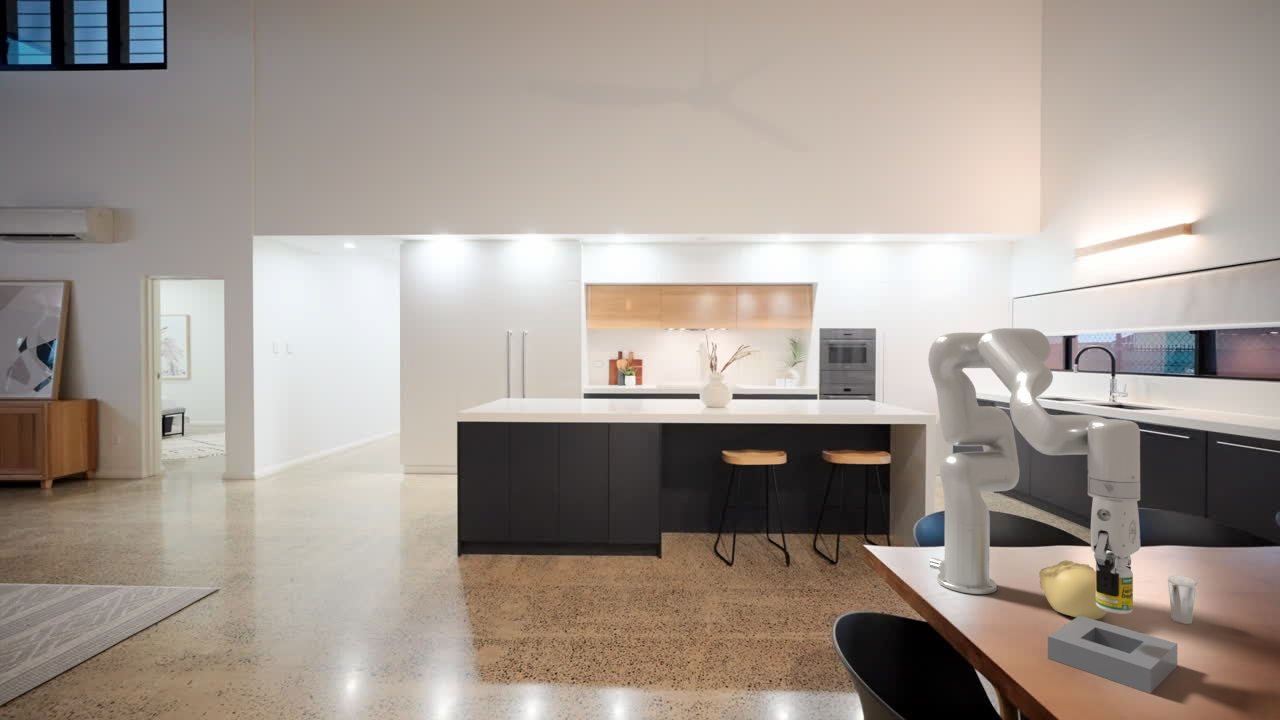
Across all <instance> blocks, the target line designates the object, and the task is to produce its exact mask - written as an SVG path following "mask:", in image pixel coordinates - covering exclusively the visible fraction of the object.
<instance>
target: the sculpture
mask: <svg viewBox="0 0 1280 720" xmlns="http://www.w3.org/2000/svg"><path fill="white" fill-rule="evenodd" d="M1038 574H1039V578H1040V579H1039V584H1040V585H1039V587H1040V588H1041V590H1042V591H1043V593H1044V595H1045V598H1046V599H1047V602H1048V603H1049V605H1050V606H1051V607H1052V609H1053V610H1054V611H1056V612H1057V613H1060V614H1063V615H1066V616H1070V617H1074V618H1076V617H1078V616H1084V617H1087V618H1091V619H1094V620H1099V619H1102V618H1103V617H1104V616H1106V615H1107V614H1108V613H1109V612H1108V611H1105V610H1102V609H1101V608H1099V607H1098V606H1097V605H1096V570H1095V569H1094V567H1092V566H1090V565H1089V564H1084V563H1078V562H1073V561H1071V560H1063V561H1060V562H1059V563H1057V564H1054V565H1052V566H1047V567H1042V569H1041V570H1040V571H1039V573H1038Z"/></svg>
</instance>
